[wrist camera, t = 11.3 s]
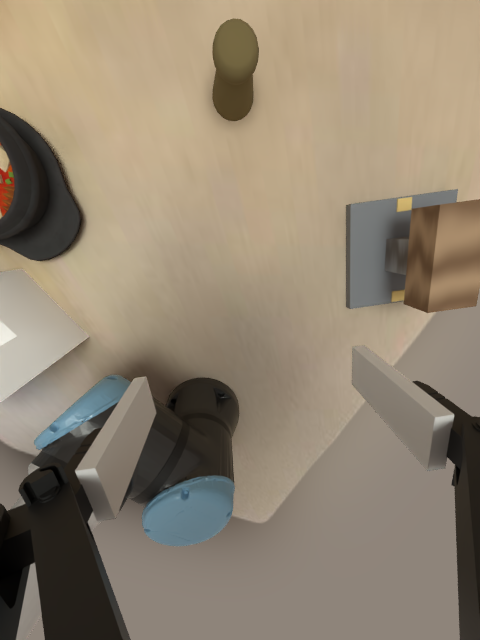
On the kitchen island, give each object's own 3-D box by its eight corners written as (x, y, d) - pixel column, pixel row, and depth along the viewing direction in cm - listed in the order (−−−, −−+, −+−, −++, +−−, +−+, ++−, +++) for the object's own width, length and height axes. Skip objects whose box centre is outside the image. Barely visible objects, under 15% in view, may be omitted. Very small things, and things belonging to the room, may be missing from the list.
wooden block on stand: (383, 213, 42) (440, 204, 31) (424, 207, 42) (495, 197, 31) (379, 294, 47) (427, 312, 36) (416, 289, 47) (476, 306, 36)
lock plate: (438, 293, 49) (477, 303, 41) (346, 306, 49) (369, 319, 41) (450, 190, 43) (498, 180, 36) (346, 205, 43) (372, 198, 35)
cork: (248, 125, 39) (257, 84, 28) (209, 114, 38) (203, 68, 27) (257, 77, 37) (270, 14, 26) (216, 65, 36) (213, -5, 26)
